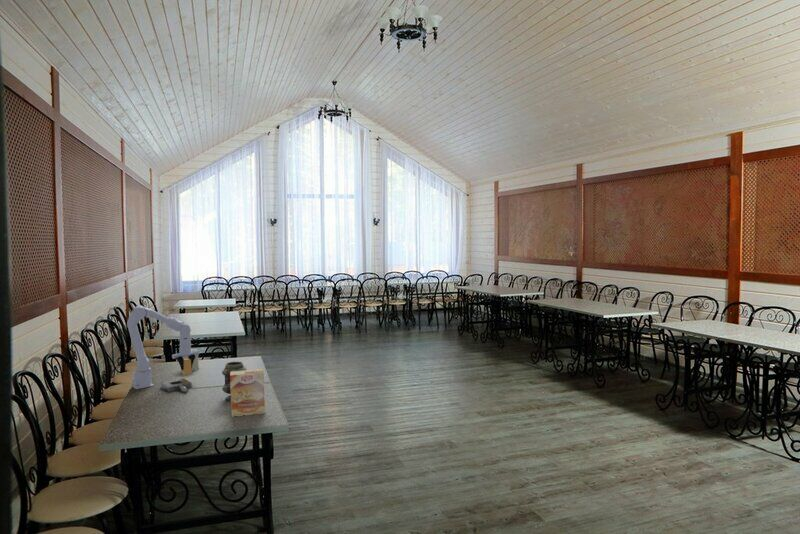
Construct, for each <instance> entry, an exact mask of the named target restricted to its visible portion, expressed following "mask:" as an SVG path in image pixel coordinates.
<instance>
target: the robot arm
mask: <svg viewBox="0 0 800 534" xmlns="http://www.w3.org/2000/svg"><path fill="white" fill-rule="evenodd" d="M130 311H131V312H130V314H129V317H128V319H127V323H126V326H127V328H128V333H129V337H130V339H131V343H132V346H133V350H134V353H135V357H136V361H137V362H136V368H137V369H136V370H135V371H133V372H131V387H132V386H133V387H132V388H133V389H135V390H140V389H145V388H149V387H154V386H155V385H154V383H152V368H151V367H150V365H151V364H150V362H151V361H150V358H149V357H148V356H147V355H146V351H145V348H144V346H143V342H142V339H141V334H140V331H139V327H138V324H139V323H140V321H141V320H142V319H144V318H146V319H147V318H153V319H154V320H158V321H159V322H162V323H165V326H166V327H167V328H169V329H171V330H174V331H175V332H179V350H180V352H178V353H173V354H171V358H172V359H173V360H174V359H176V360H177V362H178V365H179V366H180V370H181V371H182V370H184V366H183V361H184V359H183V357H185V356H188V358H189V359H191V369H192V365H193V361H194V359H195V355H198V356H199V355H200V350H198V351H191V349H192V341H191V331H192V330H191V326H190V325H189V324H188V323H186V322H184V321H180V320H178V319H177V317H175V316H174V317H172V316H171V317H170V316H169V317H168V316H166V315H163V314H161V313H160V312H157V311H155V310H154V309H152V308H149V307H145V306H144V305H139V304H138V305H136V306H134V307H133V309H131V310H130Z"/></svg>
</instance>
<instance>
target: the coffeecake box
mask: <svg viewBox="0 0 800 534" xmlns="http://www.w3.org/2000/svg"><path fill="white" fill-rule="evenodd" d="M264 378H265V374H264V369H263V368H259V369H258V368H257V369H247V370H244V371H232V372H230V389H231V394H230V395H231V401H230V410H231V412H230V413H231V417H232V418H235V417H234V416H237V417H243V415H245V416H253V414H254V415H261V414H263V415H265V414H266V404H265V401H266V400H265V381H264V380H265V379H264Z"/></svg>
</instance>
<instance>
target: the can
mask: <svg viewBox="0 0 800 534" xmlns="http://www.w3.org/2000/svg"><path fill="white" fill-rule="evenodd" d="M191 351H199V349H197V348H191ZM187 358H188V356H185V357H183V359H187ZM199 369H200V366H199V355H195V359H194V361H193V365H192V369H191V372H193V371H197V370H199Z"/></svg>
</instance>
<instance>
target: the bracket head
mask: <svg viewBox="0 0 800 534" xmlns="http://www.w3.org/2000/svg"><path fill="white" fill-rule="evenodd" d="M160 384H161V385H160V386H161V388H162V389H163V388H164V390H165V391H166V390H167V391H166V392H167V393H171V392H170V391H172V392H175V390H177V391H181V392H182V393H184V394H187V393H188V392H189V389H190V387H191V388H192V387H193V385H192V382H191V381H189V380H187V379H185V378H178V379H174V380H173V379H172V380H169V381H163V382H160Z"/></svg>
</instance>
